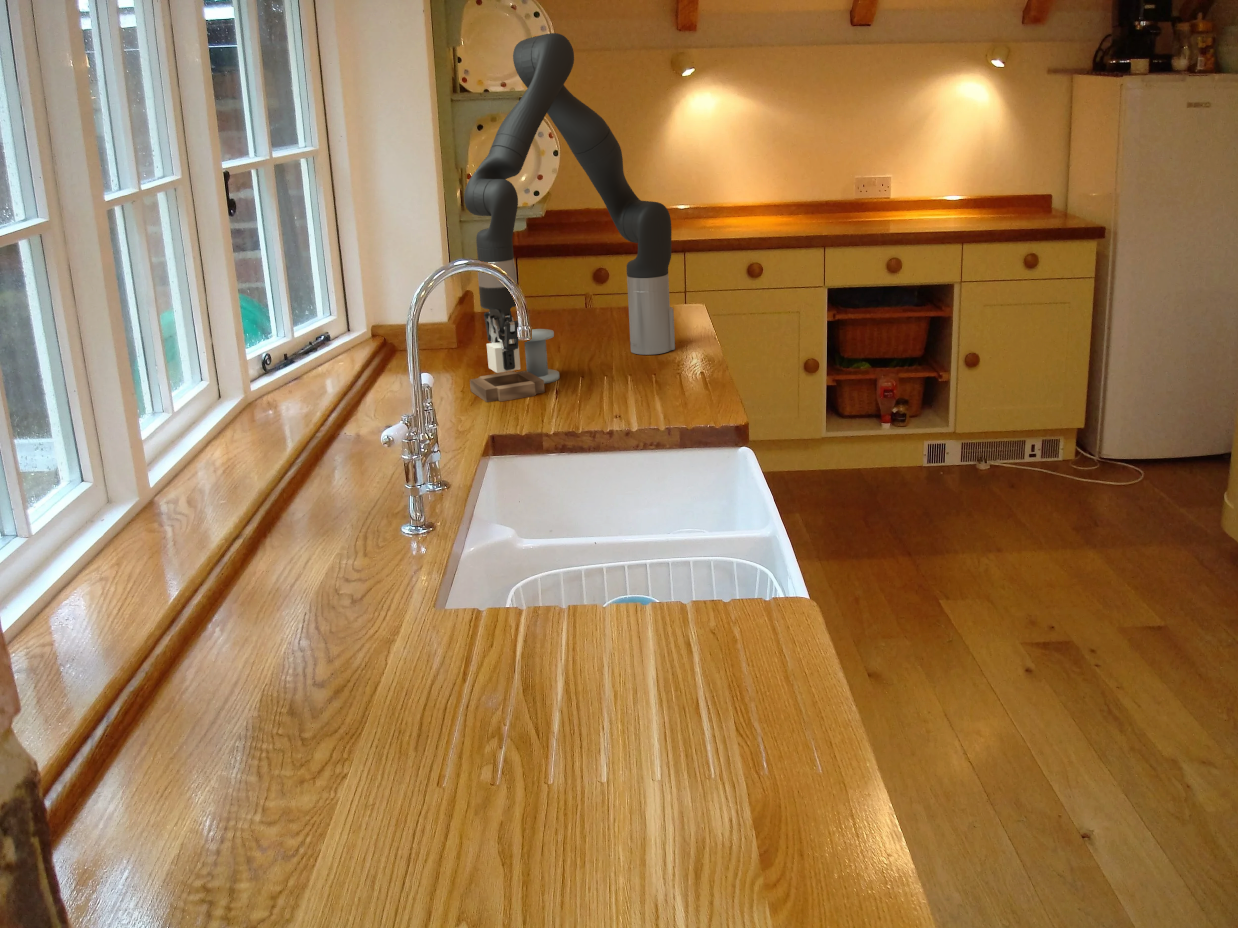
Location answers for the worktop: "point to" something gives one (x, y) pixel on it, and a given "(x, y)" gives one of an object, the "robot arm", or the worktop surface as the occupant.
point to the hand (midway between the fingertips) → (504, 366)
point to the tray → (507, 386)
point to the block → (500, 357)
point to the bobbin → (539, 355)
